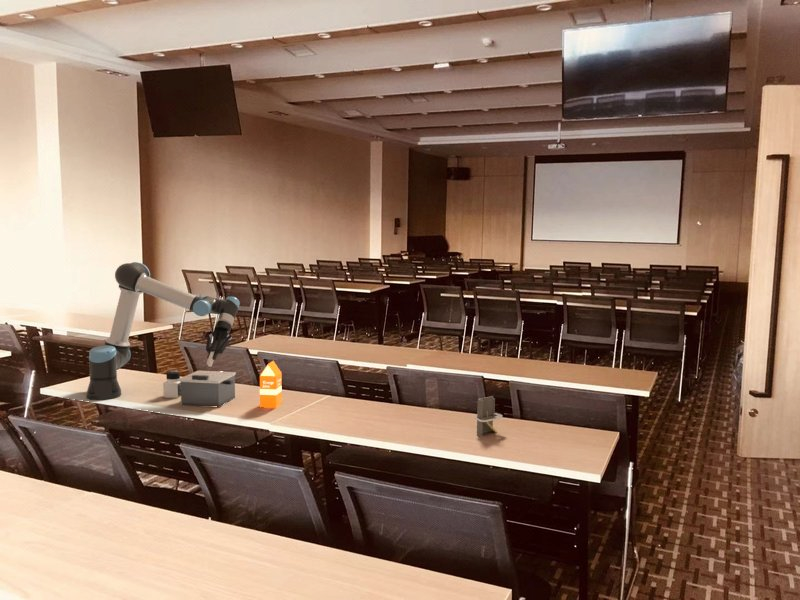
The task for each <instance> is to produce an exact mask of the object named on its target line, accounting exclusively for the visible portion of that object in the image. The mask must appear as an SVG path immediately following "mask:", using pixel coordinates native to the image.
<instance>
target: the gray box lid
mask: <svg viewBox="0 0 800 600" xmlns="http://www.w3.org/2000/svg"><path fill="white" fill-rule="evenodd" d="M236 374H237V372H236V371H219V370H196V371H194V372H191V373H190V374H187V375H184V376H182V377H180V379H179V382H195V383H216V384H219V383H221V382H223V381H225V380H227V379H228V378H230V377H232V376H234V375H235V376H236Z"/></svg>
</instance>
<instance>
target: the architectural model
mask: <svg viewBox="0 0 800 600" xmlns="http://www.w3.org/2000/svg"><path fill="white" fill-rule="evenodd" d="M495 403H496V398H494V395H491V396H487V397H481V398H480V397H479V398H477V404H476V405H477V406H476V407H477V410H476V413H477V415H475V416H474V419H475V420H476V436H480V437H483V434H485V433H489V432H493V433H496V432H497V433H498V431H497V430H496V429H495V427H494V426H493V425H494V421H496V420H499V419H502V418H503V414H501V413H497V412H496V411H495V407H496V405H495Z"/></svg>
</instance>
